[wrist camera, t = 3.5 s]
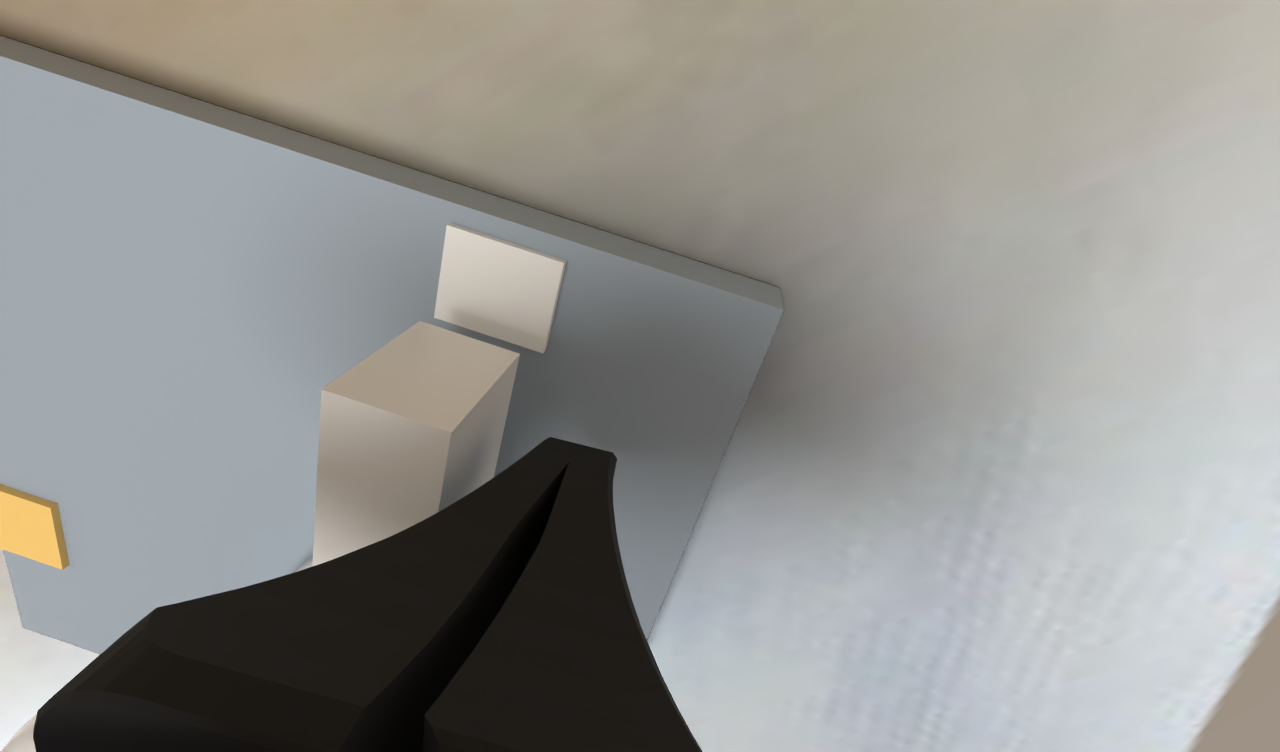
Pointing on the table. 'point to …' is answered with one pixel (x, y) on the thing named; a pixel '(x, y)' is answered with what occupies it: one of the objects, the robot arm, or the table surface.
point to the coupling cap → (407, 435)
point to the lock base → (300, 342)
